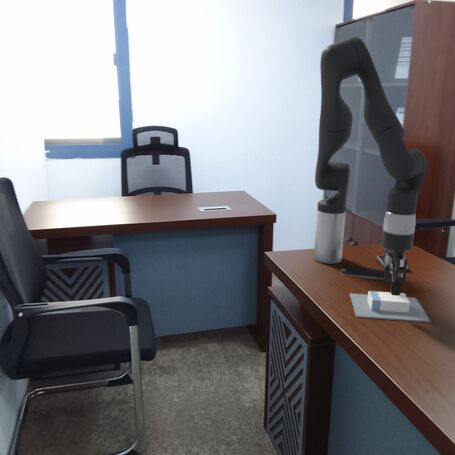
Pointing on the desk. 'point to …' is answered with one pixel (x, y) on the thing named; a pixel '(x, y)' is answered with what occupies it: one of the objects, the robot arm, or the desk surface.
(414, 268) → the desk surface
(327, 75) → the robot arm
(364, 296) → the mat
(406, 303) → the card box
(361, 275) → the smartphone
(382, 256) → the external hard drive
